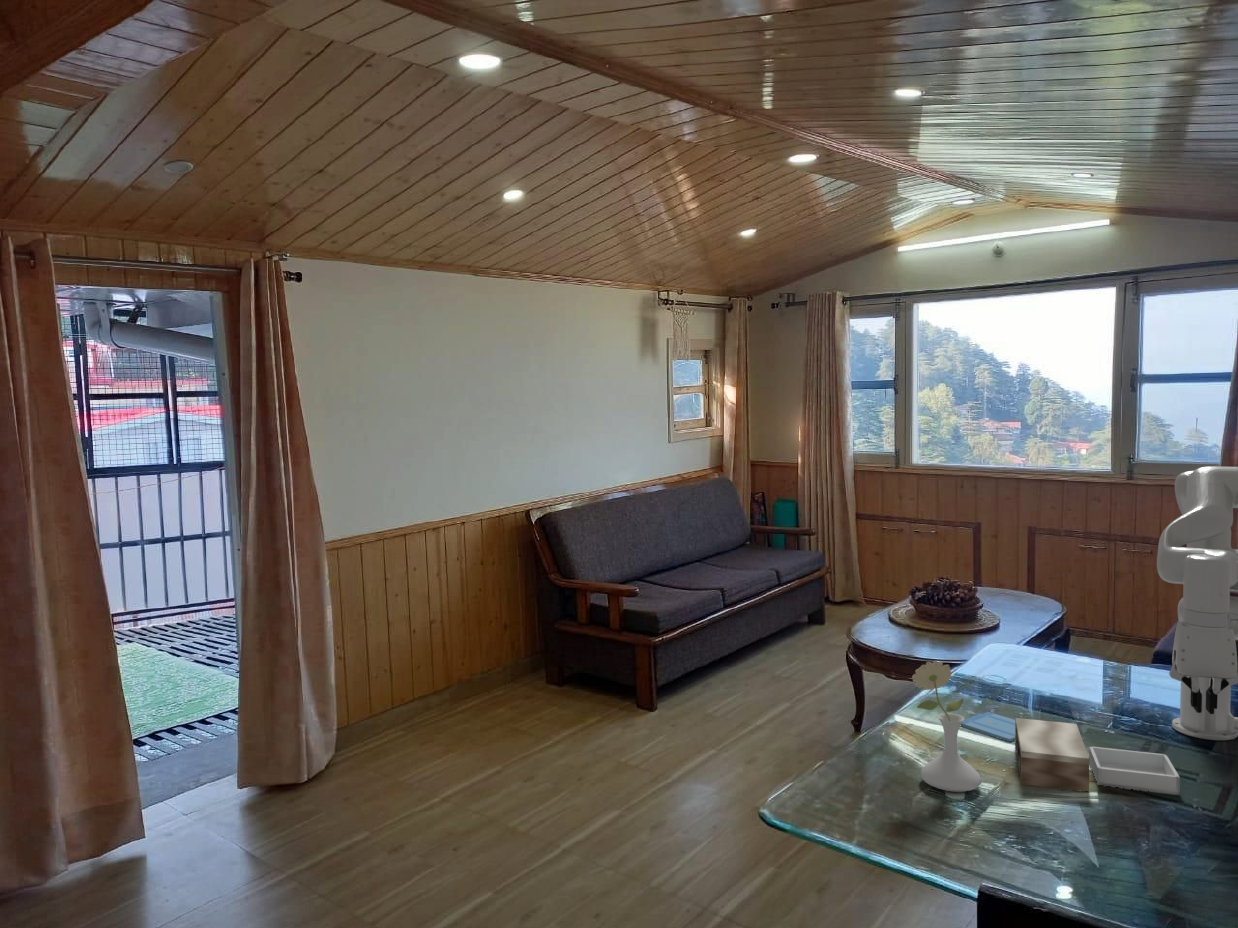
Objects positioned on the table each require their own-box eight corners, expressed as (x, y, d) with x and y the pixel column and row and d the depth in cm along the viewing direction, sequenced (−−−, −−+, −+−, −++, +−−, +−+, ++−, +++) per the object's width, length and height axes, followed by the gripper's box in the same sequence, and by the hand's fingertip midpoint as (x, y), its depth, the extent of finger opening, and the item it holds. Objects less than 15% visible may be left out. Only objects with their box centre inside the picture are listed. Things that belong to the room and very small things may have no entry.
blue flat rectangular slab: (1040, 732, 204) (1040, 727, 204) (1009, 744, 197) (1010, 738, 197) (988, 716, 215) (988, 711, 215) (957, 726, 209) (957, 721, 209)
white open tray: (1165, 770, 180) (1166, 754, 180) (1179, 795, 169) (1180, 777, 169) (1089, 762, 185) (1089, 746, 185) (1097, 785, 174) (1097, 768, 174)
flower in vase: (979, 777, 179) (980, 656, 178) (983, 800, 168) (984, 672, 167) (912, 769, 183) (912, 651, 182) (911, 792, 173) (911, 666, 171)
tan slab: (1076, 754, 190) (1076, 723, 189) (1089, 792, 171) (1089, 758, 171) (1015, 747, 194) (1015, 717, 194) (1021, 783, 175) (1021, 750, 175)
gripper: (1247, 616, 172) (1245, 709, 173) (1155, 611, 177) (1153, 701, 178) (1259, 625, 165) (1257, 722, 166) (1163, 620, 170) (1161, 713, 171)
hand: (1203, 710), depth 172 cm, fingers closed
